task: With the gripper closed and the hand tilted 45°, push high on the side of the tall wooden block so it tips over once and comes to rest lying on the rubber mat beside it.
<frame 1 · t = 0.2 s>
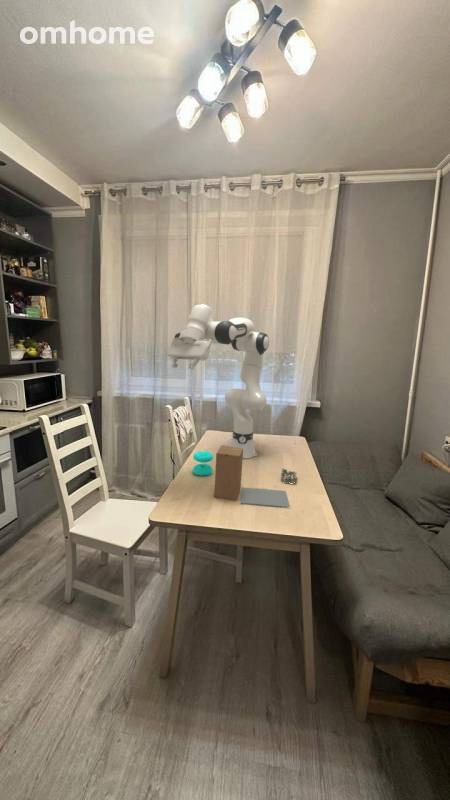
hand: (182, 368, 128), 54 cm above the table, tool tilted 25°, fingers open, 8 cm apart
donuts: (202, 472, 156), on the table
egg carton: (288, 480, 153), on the table
rubber mat: (264, 497, 133), on the table
wooden block: (227, 494, 135), on the table
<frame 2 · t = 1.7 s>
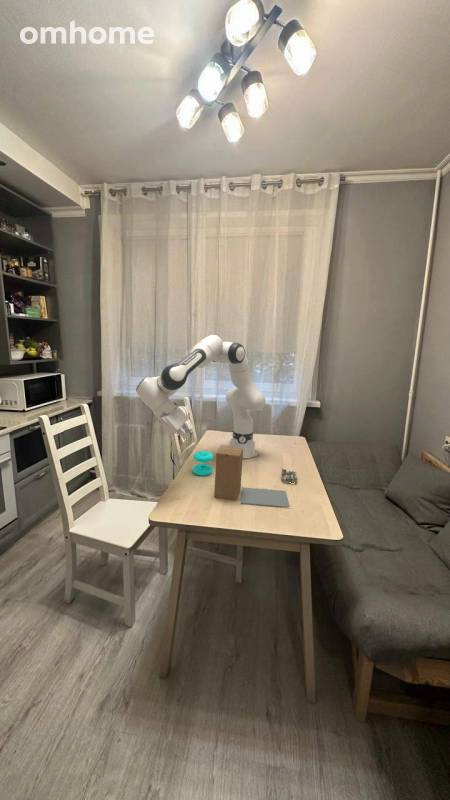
hand: (188, 434, 132), 25 cm above the table, tool tilted 45°, fingers open, 5 cm apart
nothing on the table moved.
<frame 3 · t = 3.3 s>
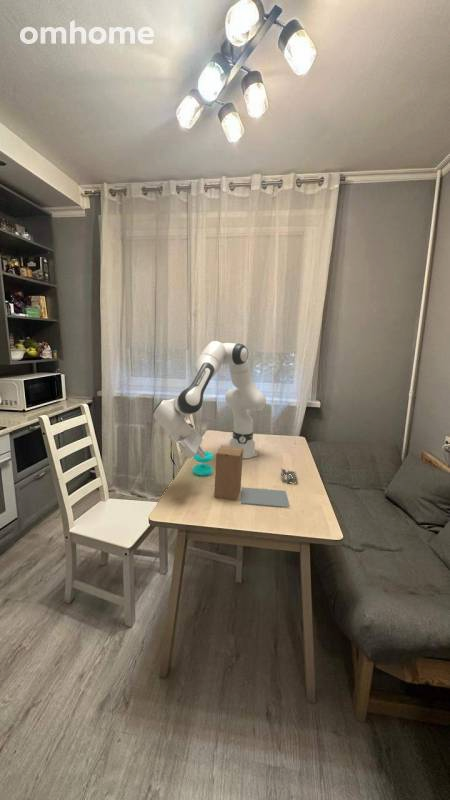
hand: (204, 456, 133), 16 cm above the table, tool tilted 45°, fingers closed
nothing on the table moved.
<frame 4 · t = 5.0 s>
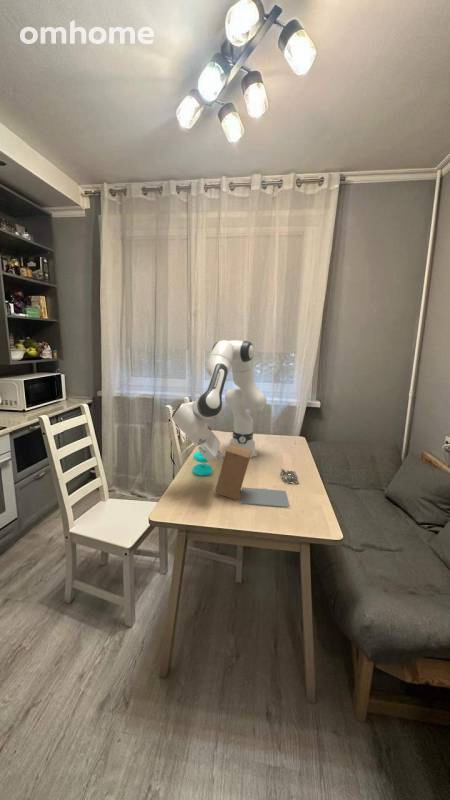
hand: (222, 460, 133), 15 cm above the table, tool tilted 45°, fingers closed
wooden block: (227, 491, 135), point 1 cm above the table, touching gripper
everything else where it was.
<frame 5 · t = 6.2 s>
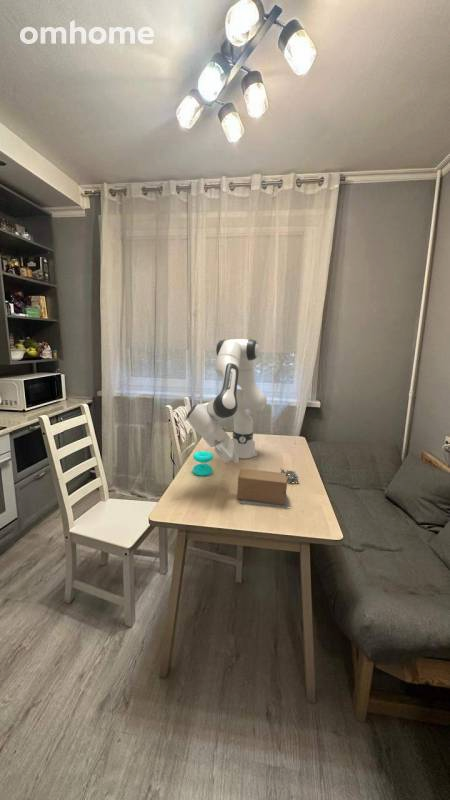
hand: (237, 461, 132), 15 cm above the table, tool tilted 45°, fingers closed
wooden block: (238, 482, 134), point 6 cm above the table, touching rubber mat
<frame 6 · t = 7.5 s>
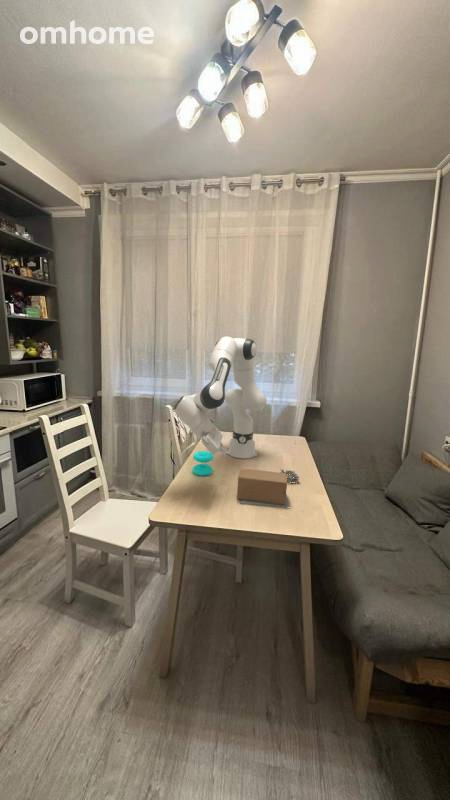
hand: (225, 452, 132), 19 cm above the table, tool tilted 45°, fingers closed
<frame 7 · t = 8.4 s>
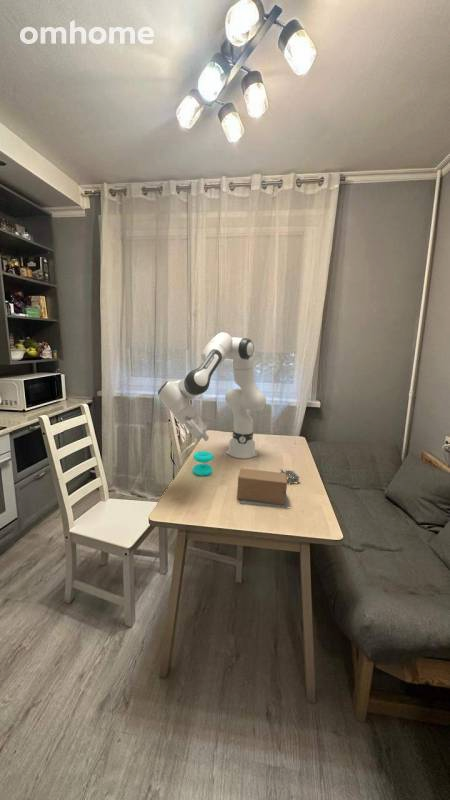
hand: (207, 439, 133), 24 cm above the table, tool tilted 40°, fingers closed
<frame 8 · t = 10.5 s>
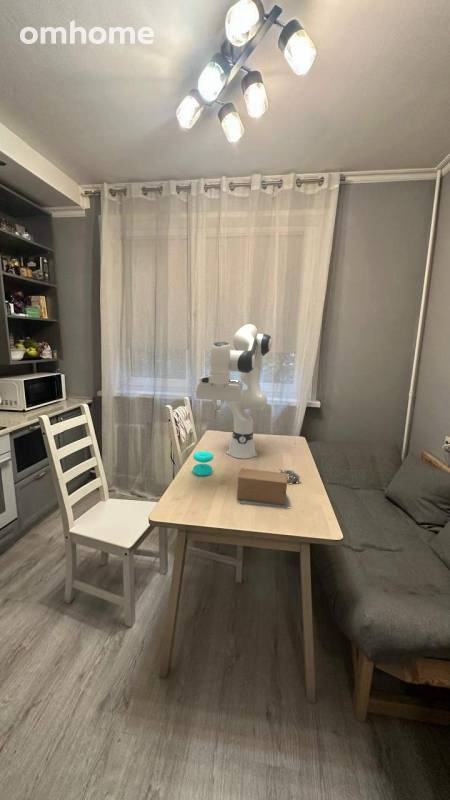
hand: (217, 409, 139), 35 cm above the table, tool pointing down, fingers closed
at the end: wooden block tilted 90°; wooden block touching rubber mat; the gripper is holding nothing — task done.
